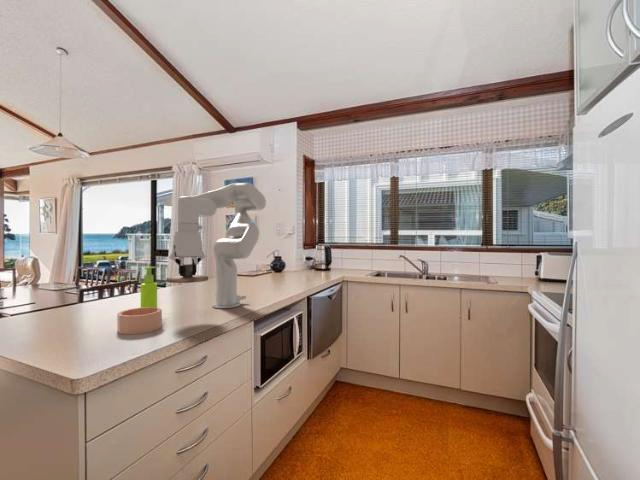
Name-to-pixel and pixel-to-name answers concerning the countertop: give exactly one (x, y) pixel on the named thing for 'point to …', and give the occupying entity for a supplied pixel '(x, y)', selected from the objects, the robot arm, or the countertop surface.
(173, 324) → the countertop surface
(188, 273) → the walnut lid
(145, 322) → the terracotta bowl
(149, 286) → the soap dispenser
